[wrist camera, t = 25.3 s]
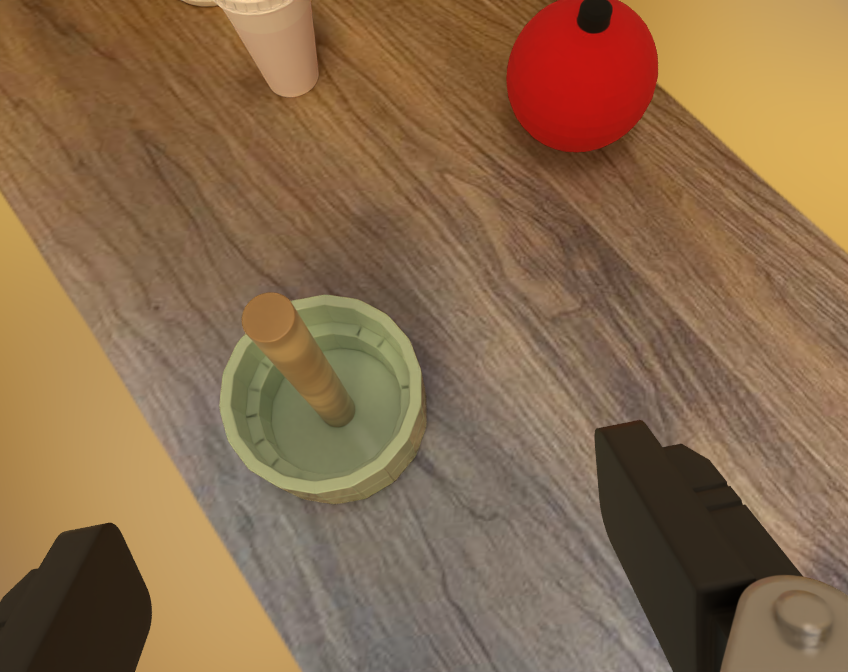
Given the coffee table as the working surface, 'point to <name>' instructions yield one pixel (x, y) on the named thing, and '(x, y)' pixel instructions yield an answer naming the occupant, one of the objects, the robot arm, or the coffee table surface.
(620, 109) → the ornament
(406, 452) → the bowl
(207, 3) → the mug
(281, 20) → the smoothie
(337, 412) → the stick
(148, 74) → the coffee table surface
